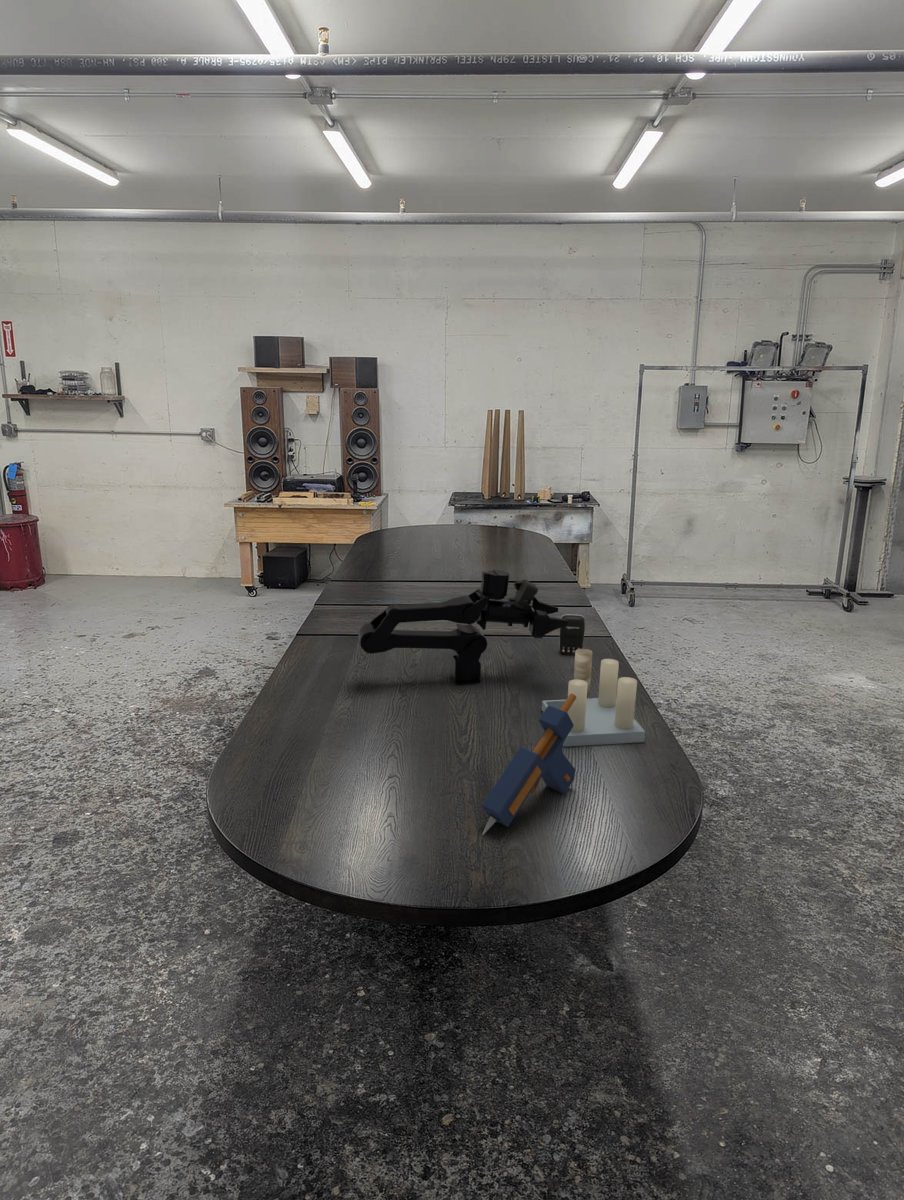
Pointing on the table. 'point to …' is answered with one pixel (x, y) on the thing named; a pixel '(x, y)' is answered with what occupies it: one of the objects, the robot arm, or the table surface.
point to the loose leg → (583, 666)
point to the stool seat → (602, 710)
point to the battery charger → (572, 634)
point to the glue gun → (533, 768)
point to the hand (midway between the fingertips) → (562, 616)
